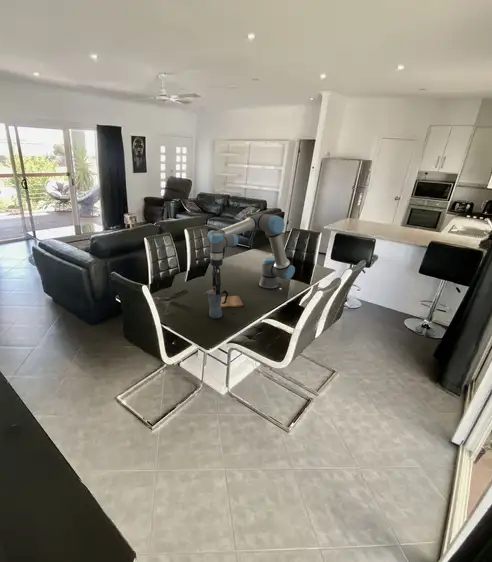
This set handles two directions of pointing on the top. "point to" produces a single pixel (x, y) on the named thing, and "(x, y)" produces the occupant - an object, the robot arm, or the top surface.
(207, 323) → the top surface
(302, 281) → the top surface
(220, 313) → the moka pot
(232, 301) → the cork board
